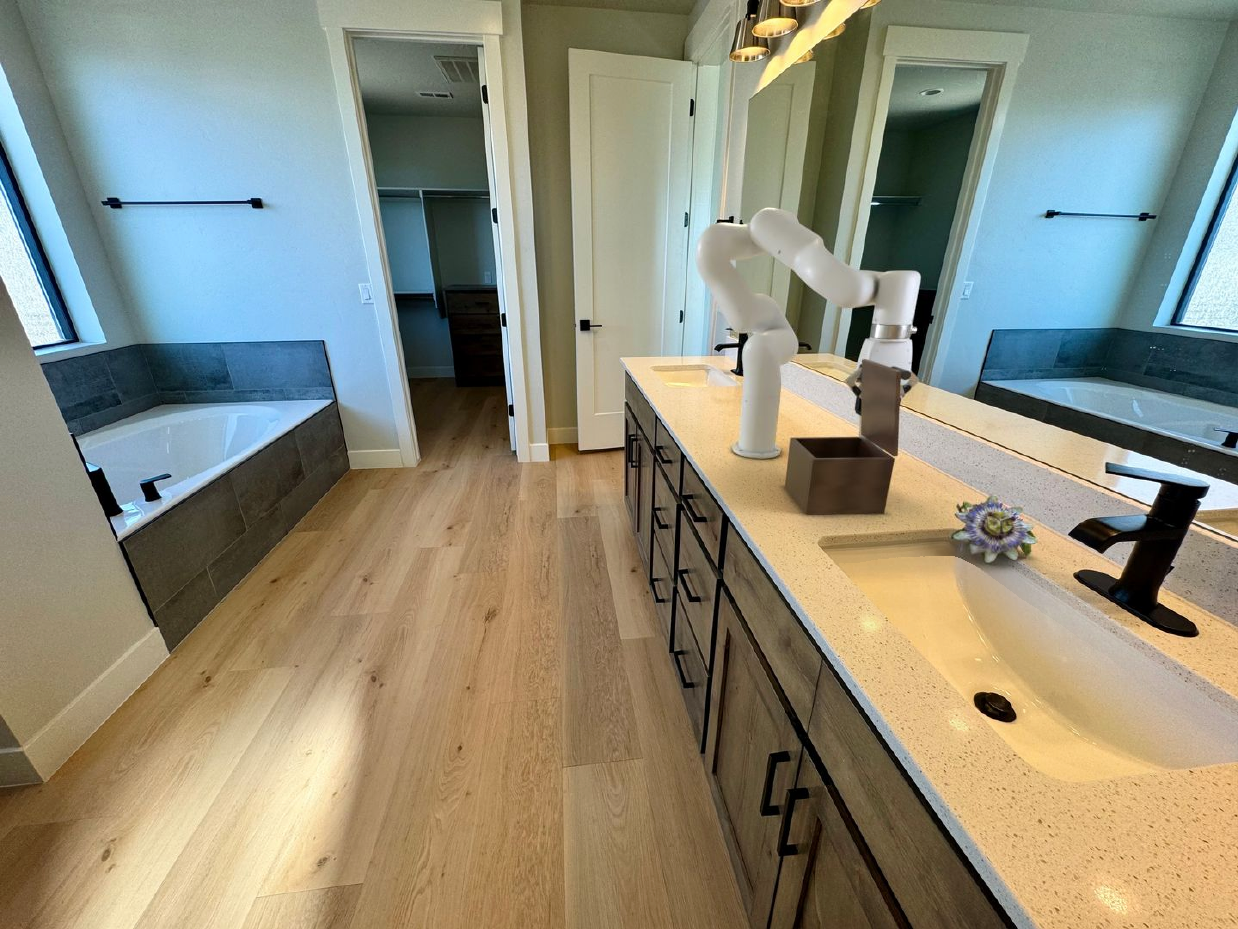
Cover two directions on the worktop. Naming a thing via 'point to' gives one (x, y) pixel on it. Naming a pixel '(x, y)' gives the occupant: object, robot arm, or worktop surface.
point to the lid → (881, 404)
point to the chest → (838, 475)
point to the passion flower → (994, 529)
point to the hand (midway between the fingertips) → (875, 413)
